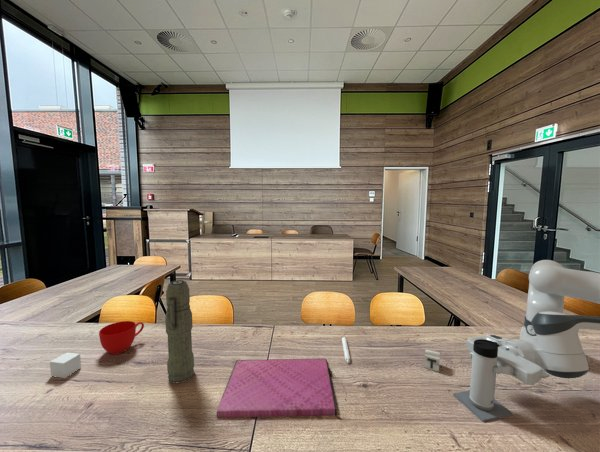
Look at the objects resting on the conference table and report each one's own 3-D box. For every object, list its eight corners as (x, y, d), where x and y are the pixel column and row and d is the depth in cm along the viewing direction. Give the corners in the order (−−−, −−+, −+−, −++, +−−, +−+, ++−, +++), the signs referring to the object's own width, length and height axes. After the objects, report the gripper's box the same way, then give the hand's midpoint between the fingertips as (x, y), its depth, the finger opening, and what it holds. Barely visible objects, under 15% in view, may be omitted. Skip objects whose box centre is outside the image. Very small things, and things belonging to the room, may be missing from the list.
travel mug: (498, 413, 79) (504, 348, 78) (474, 409, 81) (479, 346, 79) (488, 398, 85) (493, 338, 84) (465, 395, 87) (470, 336, 85)
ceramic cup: (152, 343, 119) (150, 322, 118) (109, 362, 105) (107, 338, 104) (137, 335, 126) (136, 315, 125) (94, 352, 112) (93, 329, 111)
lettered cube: (425, 361, 106) (425, 349, 106) (439, 364, 104) (439, 352, 104) (424, 368, 102) (424, 356, 101) (438, 372, 99) (439, 359, 99)
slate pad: (480, 389, 90) (480, 388, 90) (513, 415, 79) (513, 413, 79) (453, 395, 88) (453, 393, 88) (482, 421, 77) (483, 420, 77)
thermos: (197, 364, 104) (194, 276, 101) (189, 384, 92) (185, 286, 89) (173, 366, 103) (170, 277, 100) (162, 387, 91) (157, 287, 88)
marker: (351, 365, 104) (351, 359, 104) (345, 365, 104) (345, 359, 104) (346, 341, 122) (346, 336, 122) (341, 341, 122) (341, 336, 122)
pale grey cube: (81, 368, 101) (80, 353, 101) (64, 379, 96) (63, 363, 95) (67, 367, 102) (66, 352, 102) (51, 377, 97) (49, 361, 96)
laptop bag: (215, 406, 78) (235, 355, 105) (215, 419, 78) (236, 365, 106) (350, 404, 79) (336, 353, 106) (350, 416, 79) (336, 363, 106)
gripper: (552, 385, 76) (518, 395, 72) (484, 348, 96) (454, 354, 92) (554, 364, 76) (520, 373, 72) (485, 331, 95) (455, 337, 91)
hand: (482, 362), depth 82 cm, fingers closed on travel mug, 6 cm apart
